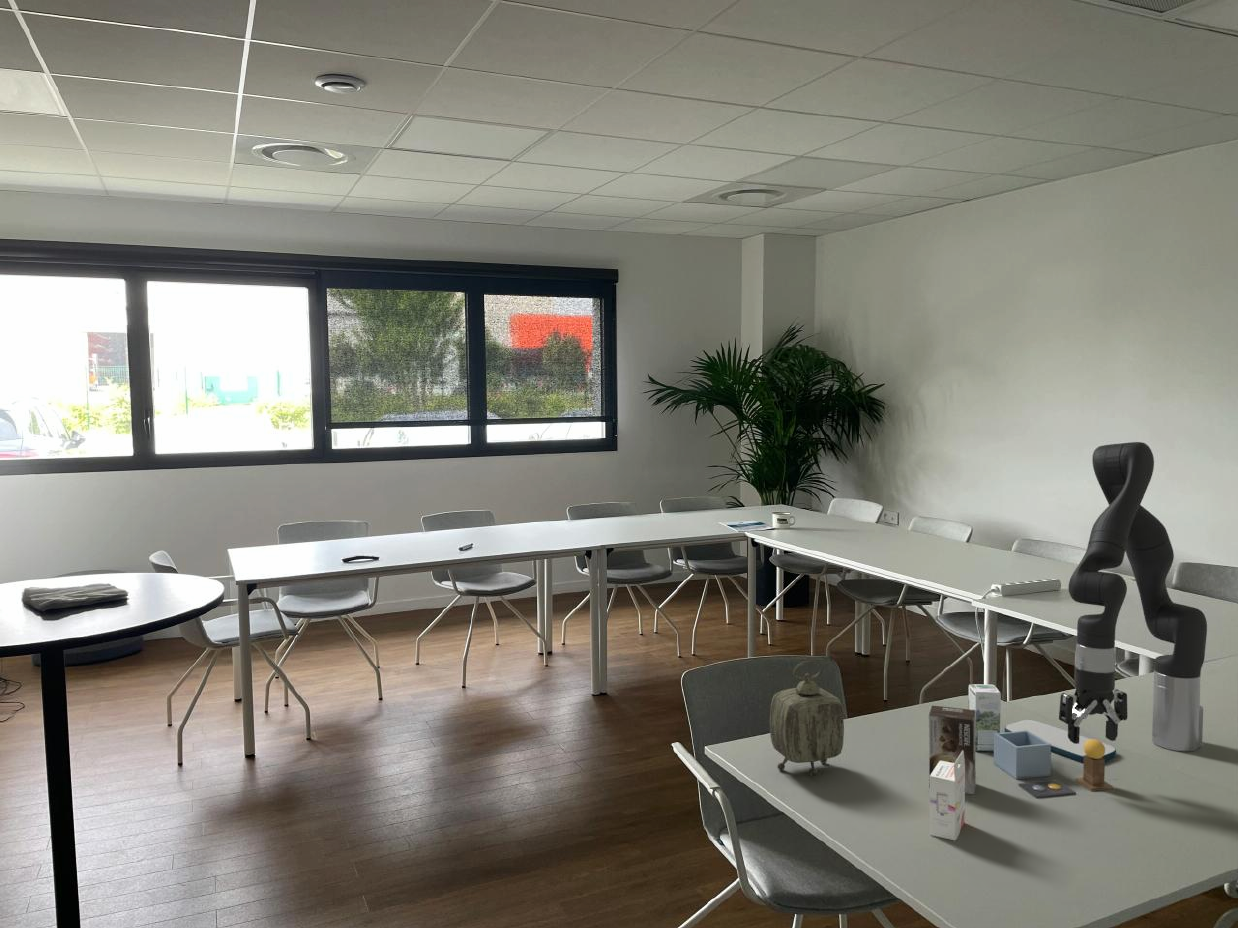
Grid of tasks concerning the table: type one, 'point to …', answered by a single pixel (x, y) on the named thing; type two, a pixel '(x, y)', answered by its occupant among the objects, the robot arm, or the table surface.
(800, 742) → the tabletop clock
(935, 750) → the coffee box
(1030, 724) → the white rounded slab
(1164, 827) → the table surface
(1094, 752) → the ball amber
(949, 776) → the ink cartridge box
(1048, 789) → the card
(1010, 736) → the blue open box
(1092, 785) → the brown square ball stand
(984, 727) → the syrup box
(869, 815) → the table surface
